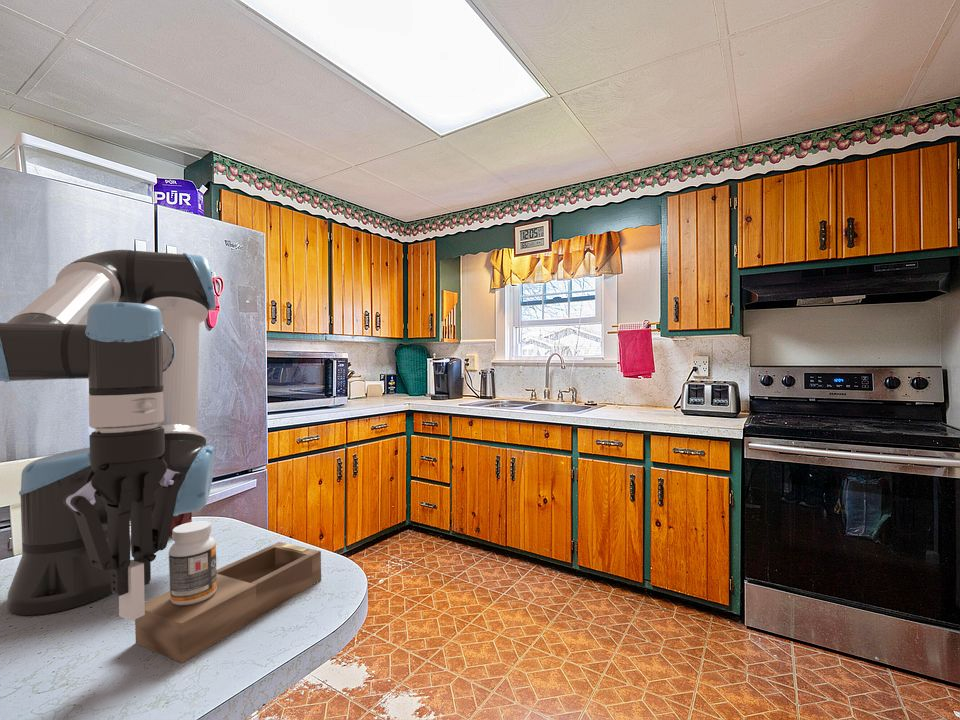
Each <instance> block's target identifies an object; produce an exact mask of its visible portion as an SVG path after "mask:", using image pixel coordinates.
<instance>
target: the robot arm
mask: <svg viewBox="0 0 960 720" xmlns="http://www.w3.org/2000/svg"><path fill="white" fill-rule="evenodd" d="M212 277H213V275H212V271H211V265H210V262H209V260H208V259H207V258H206V257H205V256H203V255H195V254H188V253H186V252H183V253H182V254H181V253H170V252H169V253H168V252H156V251H155V252H154V251H142V250H131V249H111V250H105V251H101V252H97V253H93V254H89V255H86V256H84V257H81V258H78V259H76V260H74V261H72V262H71V263H69V264H67V265H65V266H64V267H63V268H62V269H61V270H59V272H58V273H57V275H56V278H55V282H54V284H53V285H51V286H50V287H48V289H47V290H46V291H44V292H43V293H42V294H40V295H39V296H38V297H37V298H35V299H34V300H33V301H31V303H28V305H27V306H26V307H24V308H23V309H22V310H20V311H19V312H18V313H16V315H14V316H13V317H12V318H11V319H10V320H8V321H7V322H0V382H4V383H8V382H9V383H10V382H23V381H45V380H46V381H48V380H51V381H53V380H72V379H73V380H79V379H84V380H85V379H88V427H90V428H92V429H94V431H92V432H91V434H89V436H88V437H89V438H88V439H89V445H88V446H89V447H85V448H84V447H83V448H80V449H79V448H78V449H73V450H68V451H64V452H59V453H56V454H51V455H48V456H44V457H42V458H38V459H36V460H34V461H31V462H29V463H28V464H26V465H25V466H24V467H23V469H22V471H21V481H20V490H19V492H18V495H19V496H20V519H21V521H20V522H21V546H22V547H21V549H22V550H21V558H20V561H19V562H18V563H19V564H18V566H17V569H16V570H15V574H14V576H13V579H12V581H11V584H10V586H9V589H8V592H7V610H8V611H9V613H11V614H14V615H19V616H20V615H21V616H36V615H44V614H45V615H46V614H51V613H58V612H61V611H66V610H70V609H74V608H77V607H80V606H85V605H86V604H89V603H92V602H95V601H97V600H100V599H102V598H104V597H106V596H108V595H110V594H113V595H115V596H118V613H119V615H118V616H119V617H121V618H124V619H126V620H129V621H130V622H132V621H135V619H137V618H139V617H141V616H143V615H145V602H146V601H145V597H146V596H145V586H147V585H149V584H150V582H151V580H152V579H151V578H152V572H151V571H152V567H151V566H152V565H151V562H154V561H155V559H156V558H157V554H156V553H158V552H159V551H164V550H165V549H166V548H167V546H168V542H169V537H170V535H169V533H170V528H171V523H172V518H173V516H178V515H179V514H184V513H189V512H192V513H194V512H198V511H200V510H202V509H203V508H204V507H205V506H206V504H207V502H208V501H209V498H210V493H211V489H212V485H213V484H212V482H213V477H214V469H215V457H216V456H215V455H216V453H215V452H216V450H215V447H214V446H212V445H209V444H208V445H207V437H206V436H205V435H204V434H203V433H201V432H200V431H199V430H198V410H199V409H198V408H199V405H198V403H199V366H200V365H199V364H200V363H199V360H200V359H199V358H200V357H199V353H200V324H201V323H202V322H204V321H206V320H207V318H208V316H209V315H208V314H209V311H211V312H212V311H214V310H215V309H216V308H217V306H216V297H215V290H214V285H213V284H214V283H213V278H212ZM131 557H132V558H133V559H131Z"/></svg>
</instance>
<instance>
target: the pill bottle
mask: <svg viewBox="0 0 960 720" xmlns="http://www.w3.org/2000/svg"><path fill="white" fill-rule="evenodd" d="M211 532H212V523H211V522H210V521H207V520H200V521H199V520H196V521H192V522H189V523H185V524H182V525H179V526H177V527H175V528H174V529H173V531H172V534H171V538H172V541H174V543H173V544H172V545H171V546H170V548H169V550H168V557H167V558H168V579H169V588H168V589H169V591H170V600H171V602H172V603H173V604H176V605H190V604H195V603H198V602H201V601H204V600H206V599H208V598H209V597H211V596H212V595H213V594H214V593H215V592H216V590H217V570H218V569H217V544H216V542H217V541H216V540H215V539H214V538H213V536H210V535H211Z"/></svg>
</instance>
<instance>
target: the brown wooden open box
mask: <svg viewBox="0 0 960 720" xmlns="http://www.w3.org/2000/svg"><path fill="white" fill-rule="evenodd" d="M216 570H217V590H216V592H215V593H214V594H213V595H212V596H211V597H209V598H208V599H206V600H204V601H201V602H198V603H195V604H190V605H176V604H173V603H172V602H171V600H170V590H169V591H166V592H163V593H162V594H160V595H157V596H155V597H153V598H151V599H148V600H146V601H145V615H143V616H141V617H139V618H137V619H135V620H134V621H135V622H134V626H135V627H134V628H135V629H134V630H135V644H137V645H140V646H142V647H144V648H147V649H149V650H150V651H154V652H156V653H158V654H161V655H163V656H165V657H167V658H170V659H172V660H175V661H176V662H180V663H184V662H186V661H189V659H190V658H193V657H194V656H196V655H198V654H199V653H201V652H202V651H204V650H206V649H208V648H210V647H211V646H213V645H214V644H216V643H218V642H220V641H222V640H223V639H225V638H227V637H228V636H230V635H231V634H233V633H235V632H236V631H238V630H240V629H242V628H243V627H245V626H247V625H249V624H250V623H252V622H253V621H255V620H256V619H258V618H259V617H261V616H263V615H265V614H267V613H268V612H270V611H271V610H274V609H275V608H277V607H278V606H280V605H281V604H283V603H285V602H287V601H288V600H290V599H292V598H293V597H295V596H297V595H299V594H300V593H302V592H303V591H306V590H307V589H309V588H310V587H312V586H314V585H315V584H317V583H318V582H317V581H319V580H320V581H322V551H321V550H316V549H312V548H309V547H304V546H300V545H296V544H292V543H286V542H281V541H279V542H276V543H274V544H272V545H269V546H267V547H264V548H263V549H261V550H258V551H256V552H254V553H251V554H249V555H247V556H245V557H242V558H240V559H237V560H235V561H234V562H231V563H229V564H227V565H225V566H222V567H221V568H218V569H216ZM320 581H319V582H320ZM316 582H317V583H316ZM314 583H315V584H314ZM313 584H314V585H313Z"/></svg>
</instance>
